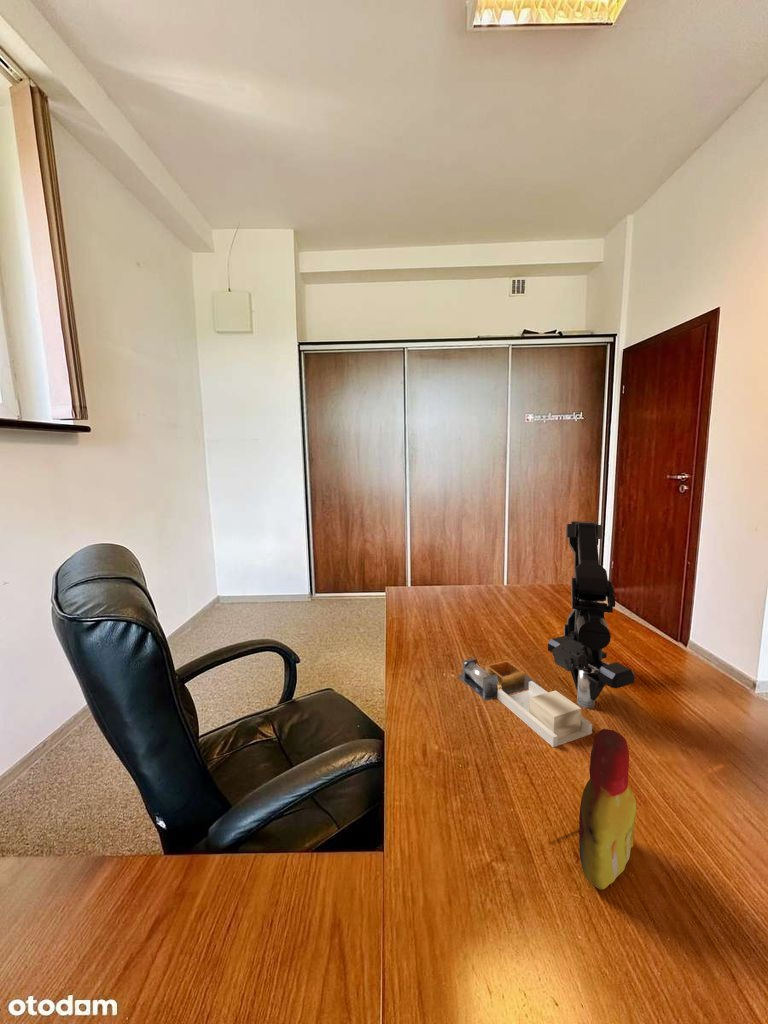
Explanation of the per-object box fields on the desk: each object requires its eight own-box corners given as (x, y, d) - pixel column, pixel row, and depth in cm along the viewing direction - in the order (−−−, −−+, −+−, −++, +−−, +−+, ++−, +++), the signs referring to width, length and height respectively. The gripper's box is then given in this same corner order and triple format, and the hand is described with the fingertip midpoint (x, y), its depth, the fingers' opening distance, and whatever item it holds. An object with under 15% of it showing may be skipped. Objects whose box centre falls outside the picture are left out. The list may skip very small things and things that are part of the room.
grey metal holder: (508, 664, 112) (509, 647, 111) (540, 686, 101) (540, 668, 100) (458, 676, 106) (458, 659, 105) (485, 702, 95) (485, 682, 94)
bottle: (614, 914, 51) (622, 768, 48) (562, 877, 55) (567, 742, 53) (641, 848, 59) (649, 721, 56) (594, 821, 64) (599, 702, 61)
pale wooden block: (552, 709, 91) (553, 688, 90) (580, 730, 84) (581, 708, 83) (527, 717, 88) (527, 696, 87) (553, 740, 81) (554, 716, 80)
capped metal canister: (585, 699, 95) (586, 660, 94) (598, 707, 92) (600, 668, 90) (573, 702, 94) (574, 664, 92) (586, 711, 90) (587, 671, 89)
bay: (531, 690, 99) (532, 680, 99) (591, 735, 83) (592, 724, 82) (497, 700, 95) (497, 690, 95) (553, 749, 79) (553, 737, 79)
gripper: (530, 620, 96) (528, 682, 98) (597, 655, 79) (593, 729, 81) (566, 612, 100) (564, 672, 102) (638, 644, 83) (634, 715, 85)
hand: (586, 695), depth 92 cm, fingers closed on capped metal canister, 4 cm apart
